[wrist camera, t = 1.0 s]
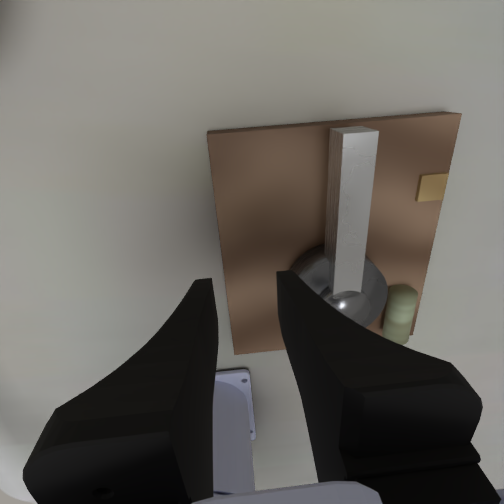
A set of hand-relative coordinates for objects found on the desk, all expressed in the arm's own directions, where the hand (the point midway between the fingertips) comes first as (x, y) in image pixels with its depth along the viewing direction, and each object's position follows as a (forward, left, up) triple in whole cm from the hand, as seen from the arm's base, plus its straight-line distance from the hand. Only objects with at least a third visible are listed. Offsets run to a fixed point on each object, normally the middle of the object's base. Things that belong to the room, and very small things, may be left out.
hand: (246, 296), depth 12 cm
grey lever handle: (-1, -6, -8) cm, 10 cm away
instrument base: (-3, -6, -9) cm, 11 cm away
